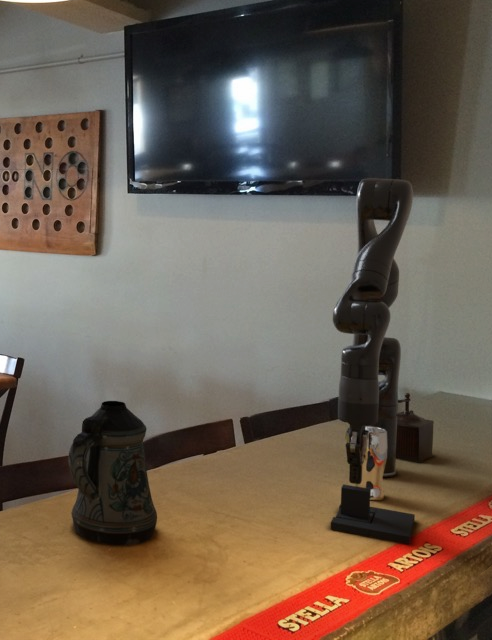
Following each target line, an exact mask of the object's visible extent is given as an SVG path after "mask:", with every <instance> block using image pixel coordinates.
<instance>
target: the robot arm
mask: <svg viewBox="0 0 492 640" xmlns="http://www.w3.org/2000/svg"><path fill="white" fill-rule="evenodd" d="M413 200H414V190H413V185H412V183H411V181H409V180H405V179H399V178H398V179H397V178H381V177H380V178H378V177H366V178H363V179H361V181H359V184H358V186H357V191H356V229H357V253H356V258H355V261H354V264H353V268H352V273H351V277H350V280H349V283H348V284H347V286H346V287H345V290H344V291H343V292H342V294H341V295H340V297H339V298H338V300H337V301H336V303H335V305H334V308H333V310H332V323H333V326H334V327H335V329H336V330H337V331H338V332H340V333H343V334H348V335H349V334H350V335H352V344H351V345H346V346H344V347H343V348H342V350H341V353H340V355H341V356H340V377H339V382H338V402H337V419H338V420H339V421H341V422H343V423H347V424H349V427H347V430H345V437H344V438H345V440H346V443H345V450H346V451H345V452H346V462H347V464H348V465H349V473H348V474H349V477H348V481H349V483H350V484H353V485H354V484H355V485H356V484H360V483H361V481H362V465H363V463H364V458H365V452H366V451H367V439H368V437H369V431H368V430H365V428H366V426H374V427H379V428H383V429H385V430H387V442H388V451H387V460H386V465H385V469H384V473H383V478H390V477H394V476H396V475H397V470H396V466H397V465H396V464H397V463H396V462H397V460H396V459H397V458H396V440H397V414H398V410H399V409H398V407H399V403H398V400H399V379H400V369H401V359H402V347H401V343H400V341H399V340H398V339H397V338H395V337H386V334H387V331H388V328H389V327H390V326H389V325H390V322H391V316H392V315H391V311H390V308H391V307H392V305H394V303H395V302H396V300H397V298H398V296H399V286H400V268H399V266H398V263H397V261H396V259H395V254H396V252H397V250H398V247H399V245H400V243H401V239H402V237H403V234H404V231H405V228H406V226H407V224H408V221H409V217H410V215H411V210H412V206H413ZM375 221H383V222H388V223H387V225H386V226H385V227H384V228H383V229H382V230H381V231H380V233H378V231H377V227H376V223H375ZM379 376H384V377H383V379H382V380H381V381H380V380H379ZM379 381H380V382H379ZM378 382H379V383H378Z"/></svg>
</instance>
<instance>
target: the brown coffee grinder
mask: <svg viewBox="0 0 492 640" xmlns="http://www.w3.org/2000/svg"><path fill="white" fill-rule="evenodd" d="M379 382H380V380H378V383H379ZM410 397H411V394H410V393H409V392H406V393H404V398H403V399H398V404H403V403H405V405H404V411H401V412H397V440H396V459H399V460H403V461H409V462H413V463H422V462H423V461H426V460H427V459H429V458H432V457H433V445H434V425H435V424H434V420H430V419H425V418H424V417H422V416H419V415H418V414H416V413H414V410H413V409H411V410H410V402H411V401H412V400H411V398H410Z"/></svg>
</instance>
